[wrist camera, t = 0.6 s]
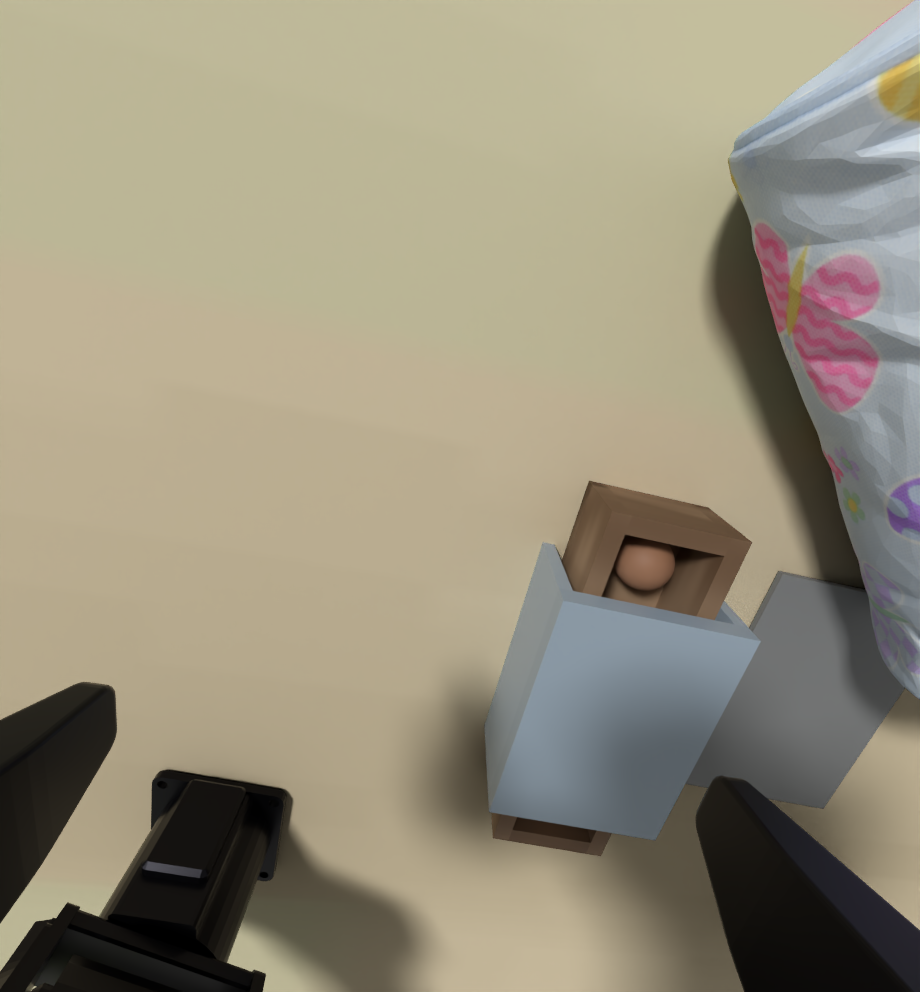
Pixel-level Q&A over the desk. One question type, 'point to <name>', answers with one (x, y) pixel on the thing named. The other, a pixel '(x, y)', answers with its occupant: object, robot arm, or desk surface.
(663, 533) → the tray
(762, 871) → the robot arm
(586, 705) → the cover
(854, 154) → the pencil case
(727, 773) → the mat
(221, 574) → the desk surface
